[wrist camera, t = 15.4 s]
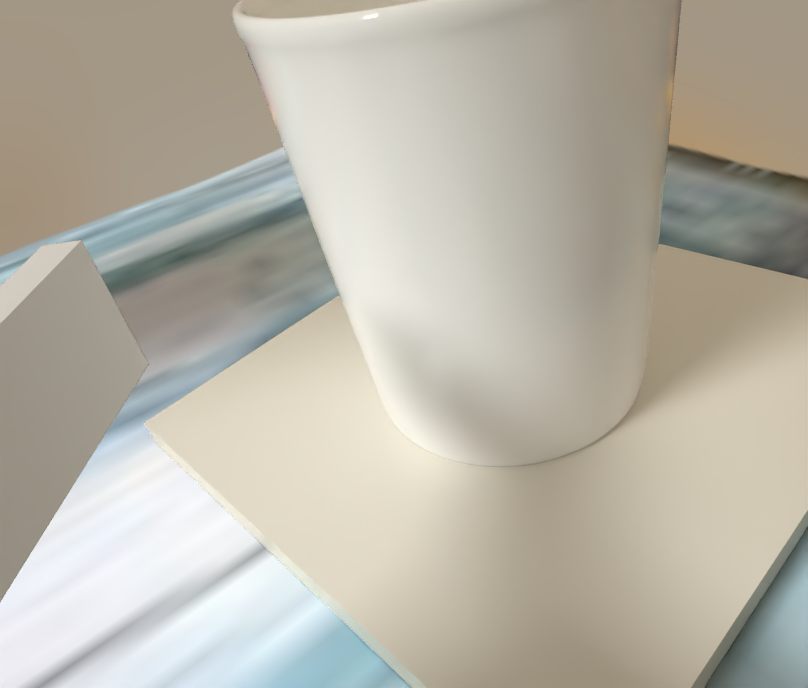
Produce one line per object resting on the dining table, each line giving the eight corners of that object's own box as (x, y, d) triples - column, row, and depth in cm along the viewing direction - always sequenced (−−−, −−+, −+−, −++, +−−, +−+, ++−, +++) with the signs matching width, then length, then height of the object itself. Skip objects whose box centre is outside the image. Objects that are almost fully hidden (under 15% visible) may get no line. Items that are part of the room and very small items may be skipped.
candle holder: (561, 260, 26) (535, -99, 19) (749, 403, 19) (819, -108, 12) (326, 350, 25) (205, -7, 18) (424, 549, 17) (279, 52, 10)
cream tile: (155, 443, 24) (143, 422, 23) (484, 220, 33) (481, 201, 32) (593, 859, 12) (591, 839, 12) (930, 337, 21) (939, 310, 20)
